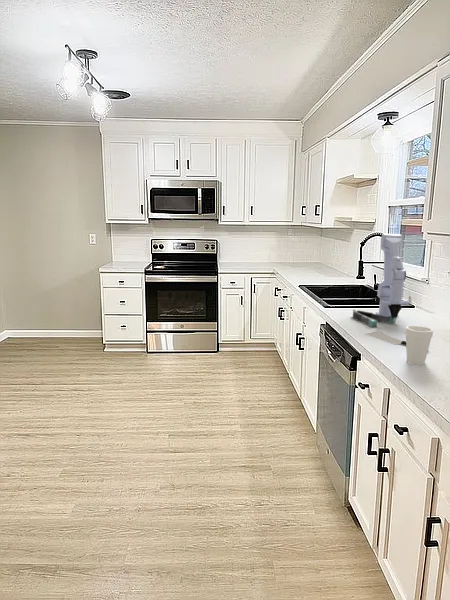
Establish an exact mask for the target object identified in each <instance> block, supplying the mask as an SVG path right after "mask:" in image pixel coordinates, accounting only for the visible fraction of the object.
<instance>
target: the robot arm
mask: <svg viewBox="0 0 450 600" xmlns="http://www.w3.org/2000/svg"><path fill="white" fill-rule="evenodd" d="M402 243H403V235H402V234H401V233H399V234H397V233H382V235H381V237H380V249H381V251H383V260H384V261H383V280H382V281H381V282H379V284H378V285H377V287H378V288H377V291H376V292H377V297H378V298H379V308H378V309H379V310H378V312H375V314H378V315H384V316H389V317H390V316H391V317H396V319H397V318H398V317H399V313H400V311H401V310H402V309H403V306H409V304H410V301H409V300H403V291H404V282H405V281H406V279H407V271H406V269H405V267H404V264H403V259H402V257H400V247H401V245H402Z"/></svg>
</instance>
